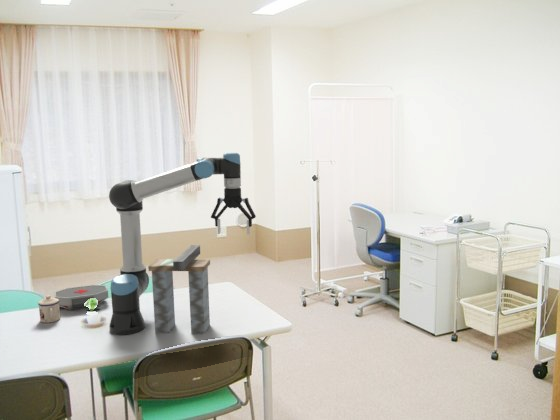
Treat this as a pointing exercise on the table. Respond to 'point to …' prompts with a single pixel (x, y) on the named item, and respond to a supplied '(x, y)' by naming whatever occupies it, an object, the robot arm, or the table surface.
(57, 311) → the teacup with lid
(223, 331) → the table surface
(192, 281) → the bench
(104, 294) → the first aid kit
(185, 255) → the dark grey bar
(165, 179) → the robot arm
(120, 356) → the table surface
